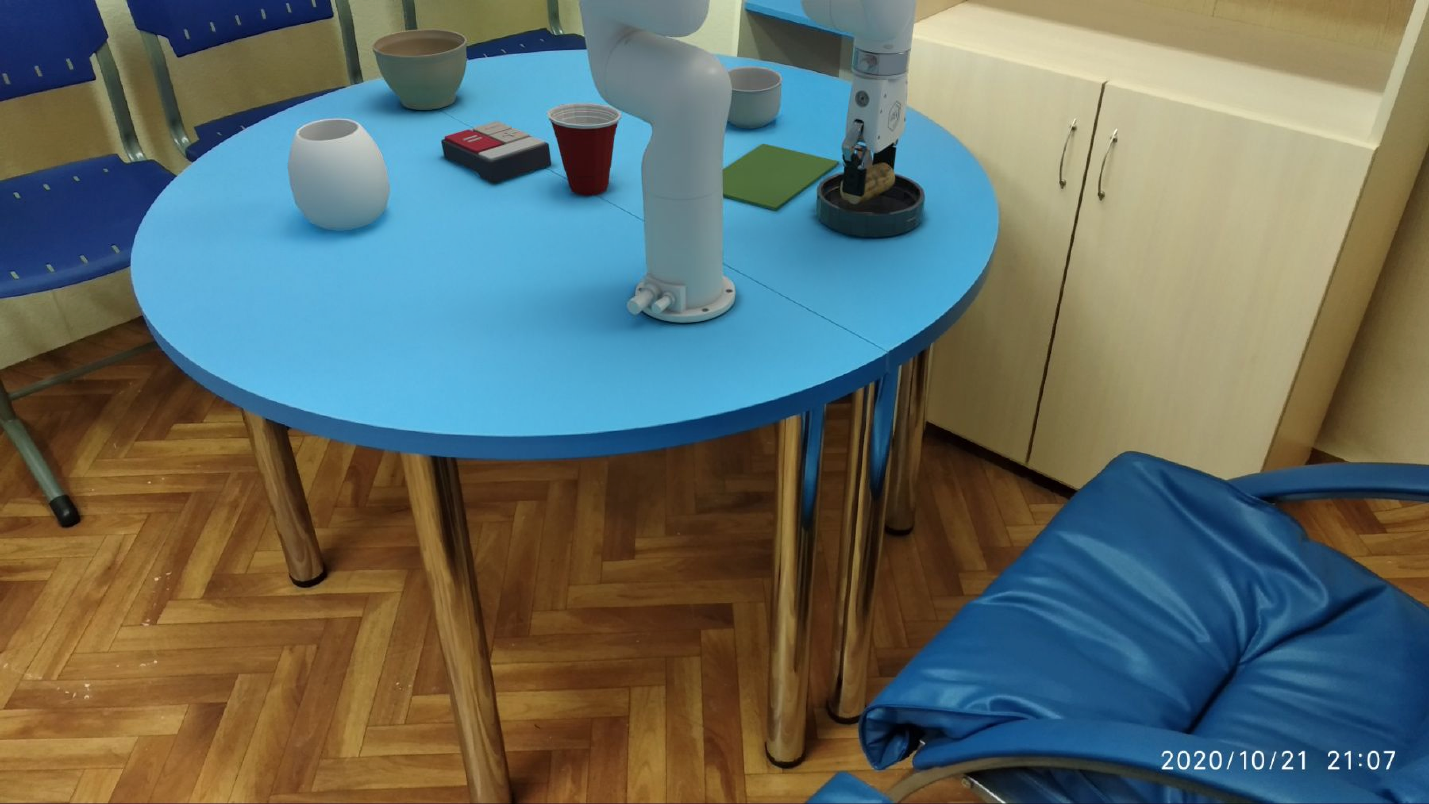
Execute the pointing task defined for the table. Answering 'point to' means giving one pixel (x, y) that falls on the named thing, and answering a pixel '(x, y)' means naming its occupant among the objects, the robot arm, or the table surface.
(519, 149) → the calculator
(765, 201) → the green mat
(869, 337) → the table surface
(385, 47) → the planter bowl
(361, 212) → the white vase
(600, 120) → the plastic cup
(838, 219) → the pan
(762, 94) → the teacup
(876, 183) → the carved stone cylinder
